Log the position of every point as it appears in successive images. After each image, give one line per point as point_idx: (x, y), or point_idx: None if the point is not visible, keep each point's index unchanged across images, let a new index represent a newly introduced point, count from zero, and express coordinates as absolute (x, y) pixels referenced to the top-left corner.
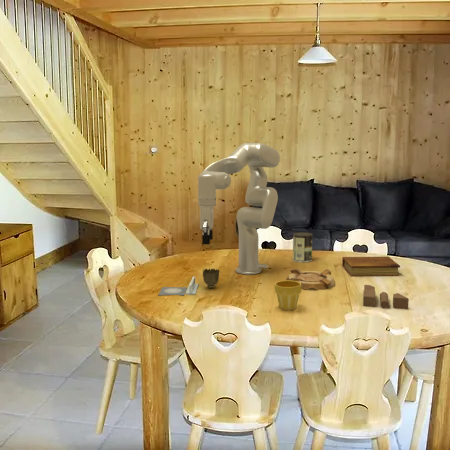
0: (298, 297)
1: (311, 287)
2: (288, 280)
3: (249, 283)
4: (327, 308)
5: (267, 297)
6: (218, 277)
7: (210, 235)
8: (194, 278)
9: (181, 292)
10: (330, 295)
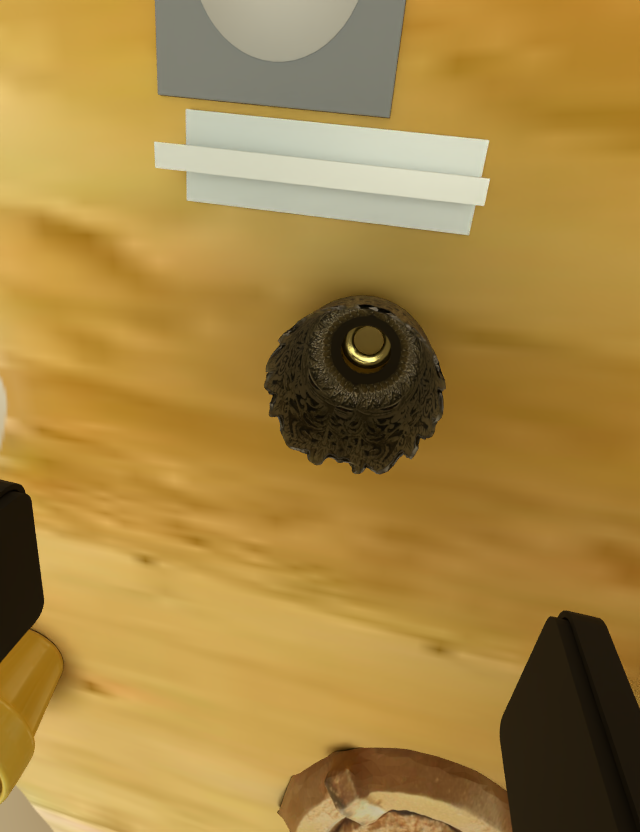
0: None
1: (281, 810)
2: (3, 785)
3: (447, 597)
4: (48, 759)
5: (165, 618)
6: (331, 432)
7: (531, 807)
8: (424, 198)
9: (227, 61)
10: (209, 820)
